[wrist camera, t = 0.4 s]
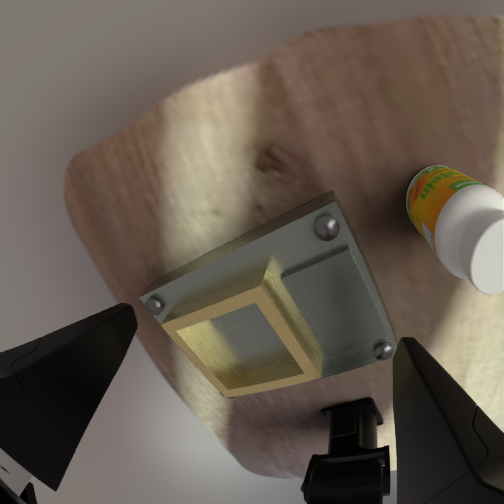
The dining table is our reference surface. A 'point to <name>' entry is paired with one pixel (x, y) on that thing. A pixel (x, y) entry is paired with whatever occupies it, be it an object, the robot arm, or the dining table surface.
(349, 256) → the grey fixture plate
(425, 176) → the supplement bottle
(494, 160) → the dining table surface
